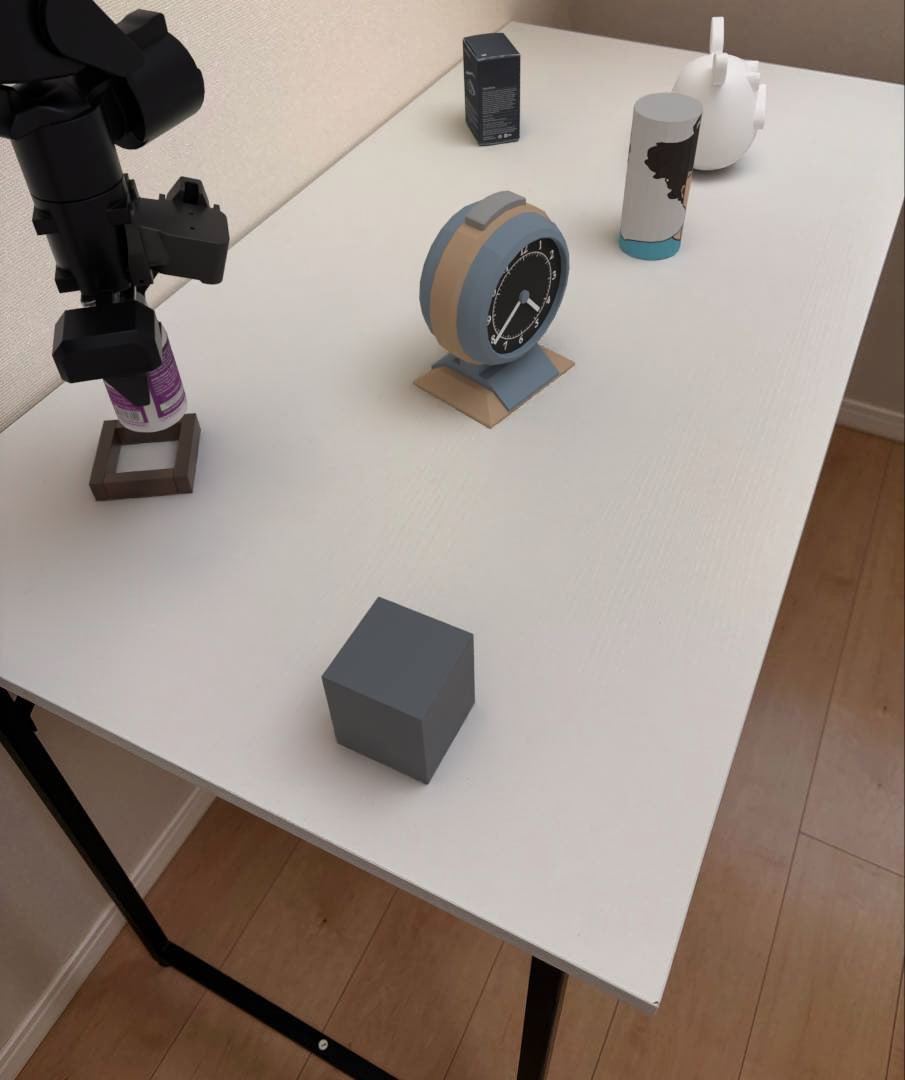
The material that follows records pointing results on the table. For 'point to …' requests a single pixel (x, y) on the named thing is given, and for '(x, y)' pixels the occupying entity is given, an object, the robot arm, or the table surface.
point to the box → (492, 88)
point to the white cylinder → (659, 174)
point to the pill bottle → (154, 394)
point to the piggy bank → (723, 102)
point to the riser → (401, 688)
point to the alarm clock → (493, 305)
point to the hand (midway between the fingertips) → (143, 381)
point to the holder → (147, 481)
